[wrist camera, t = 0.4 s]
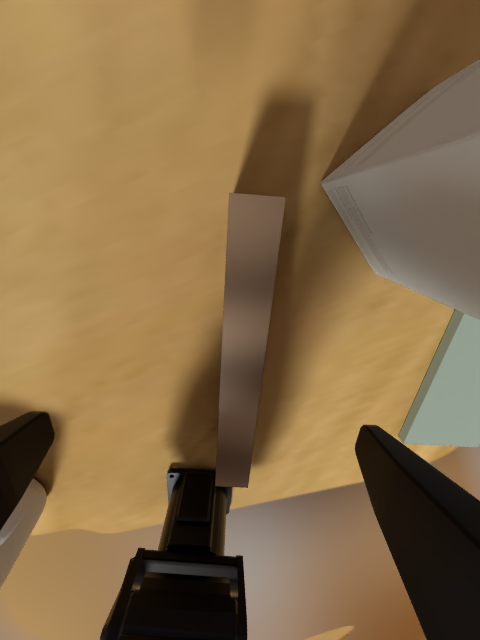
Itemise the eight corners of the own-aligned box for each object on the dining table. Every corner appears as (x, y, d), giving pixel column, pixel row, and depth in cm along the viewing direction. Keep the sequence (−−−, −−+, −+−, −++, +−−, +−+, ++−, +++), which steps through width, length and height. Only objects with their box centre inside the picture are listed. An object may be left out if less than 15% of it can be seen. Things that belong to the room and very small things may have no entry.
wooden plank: (246, 433, 24) (247, 487, 19) (219, 432, 24) (215, 486, 19) (271, 201, 16) (285, 197, 11) (232, 197, 16) (229, 192, 11)
